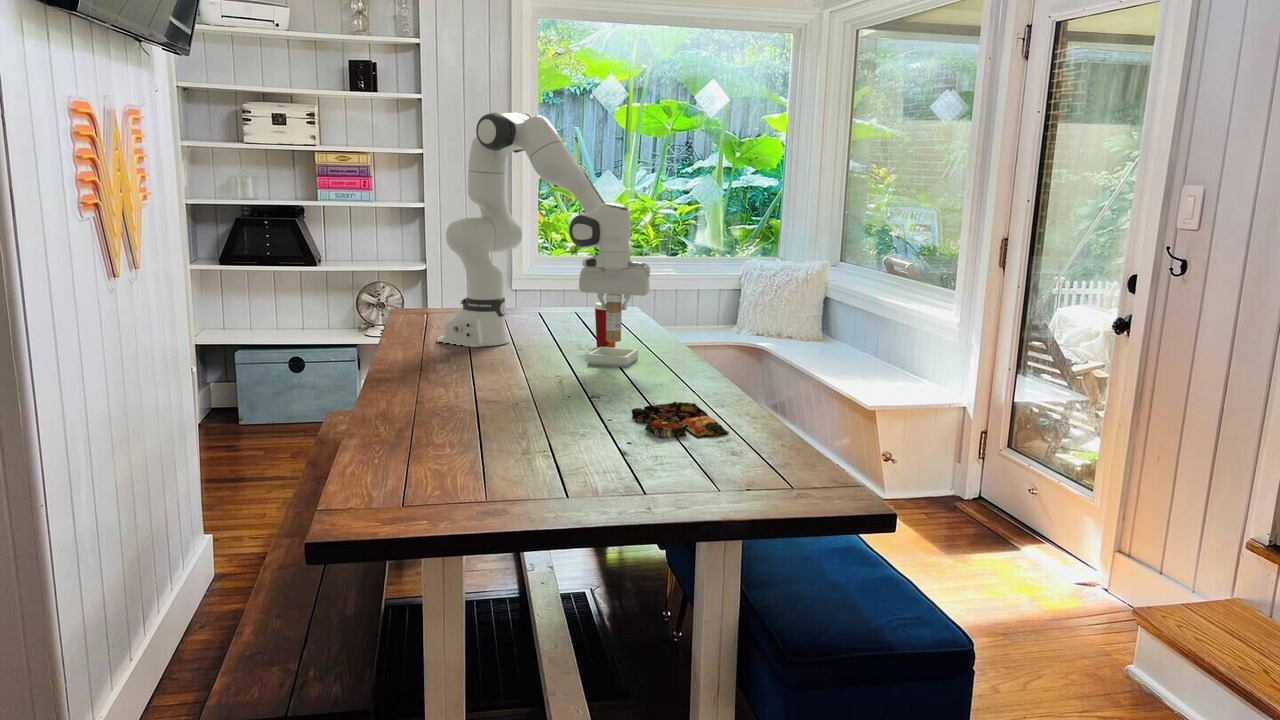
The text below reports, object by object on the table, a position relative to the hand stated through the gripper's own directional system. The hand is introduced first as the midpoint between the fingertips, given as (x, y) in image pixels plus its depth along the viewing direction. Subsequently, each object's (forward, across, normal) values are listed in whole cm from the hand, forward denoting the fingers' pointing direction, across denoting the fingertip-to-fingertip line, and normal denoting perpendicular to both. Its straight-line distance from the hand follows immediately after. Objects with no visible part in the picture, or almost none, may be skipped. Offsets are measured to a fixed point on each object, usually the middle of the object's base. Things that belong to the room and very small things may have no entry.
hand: (613, 309), depth 263 cm
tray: (+15, 0, 0) cm, 15 cm away
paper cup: (+15, +8, -18) cm, 25 cm away
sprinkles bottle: (+9, 0, 0) cm, 9 cm away
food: (+16, -33, +56) cm, 67 cm away
